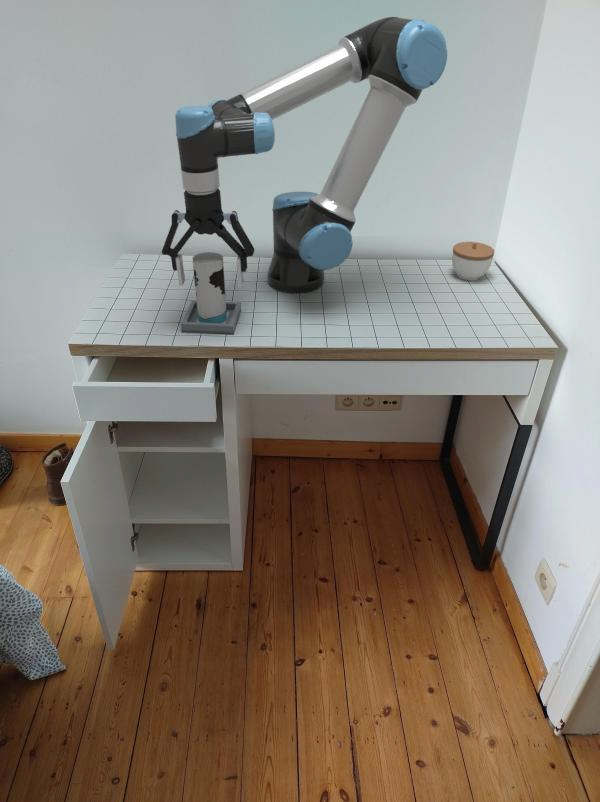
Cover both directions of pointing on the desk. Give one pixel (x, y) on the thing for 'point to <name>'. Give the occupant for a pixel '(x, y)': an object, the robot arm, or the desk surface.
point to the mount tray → (194, 326)
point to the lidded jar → (471, 259)
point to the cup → (210, 287)
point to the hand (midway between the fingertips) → (211, 283)
